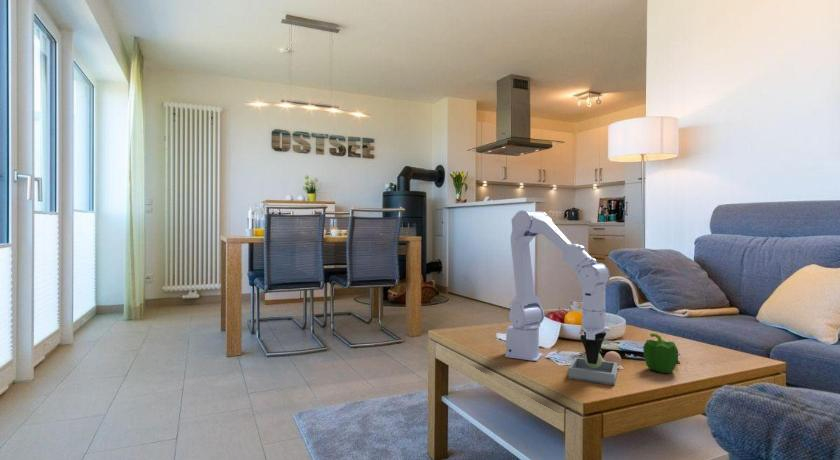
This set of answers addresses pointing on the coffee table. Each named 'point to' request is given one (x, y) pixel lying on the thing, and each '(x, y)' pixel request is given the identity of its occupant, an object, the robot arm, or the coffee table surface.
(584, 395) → the coffee table surface
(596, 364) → the olive ball
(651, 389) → the coffee table surface
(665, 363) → the bell pepper
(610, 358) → the terracotta ball
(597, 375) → the dish
